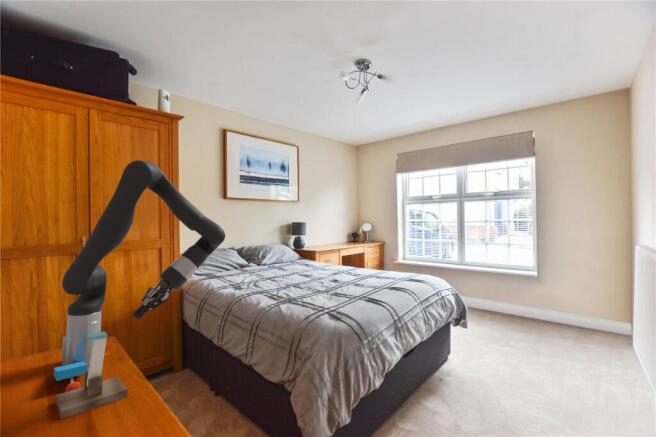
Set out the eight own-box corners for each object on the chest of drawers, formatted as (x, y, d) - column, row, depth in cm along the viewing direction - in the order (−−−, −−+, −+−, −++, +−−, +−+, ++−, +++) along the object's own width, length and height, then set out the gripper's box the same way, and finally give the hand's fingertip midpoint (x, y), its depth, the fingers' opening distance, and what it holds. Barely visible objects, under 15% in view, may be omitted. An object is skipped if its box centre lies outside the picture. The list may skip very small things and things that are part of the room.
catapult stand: (117, 383, 91) (118, 359, 91) (127, 396, 84) (128, 371, 84) (55, 402, 80) (57, 376, 80) (61, 419, 74) (62, 391, 74)
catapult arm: (96, 383, 84) (104, 331, 86) (99, 388, 82) (107, 334, 83) (78, 387, 81) (87, 333, 83) (81, 392, 79) (89, 337, 80)
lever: (53, 391, 93) (57, 400, 81) (54, 367, 95) (58, 372, 82) (81, 384, 98) (89, 391, 86) (81, 361, 99) (89, 365, 87)
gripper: (163, 263, 102) (119, 305, 92) (179, 267, 93) (132, 315, 83) (178, 277, 105) (137, 319, 96) (195, 282, 97) (152, 329, 87)
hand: (135, 317), depth 90 cm, fingers closed
